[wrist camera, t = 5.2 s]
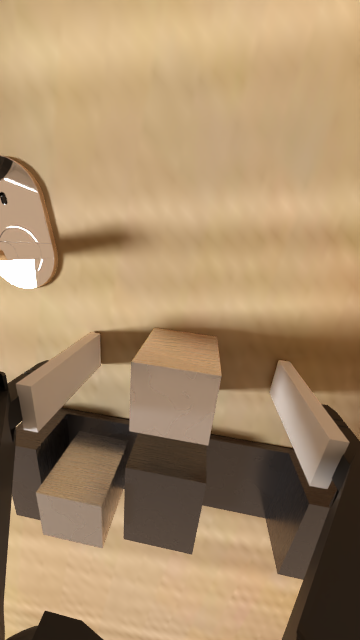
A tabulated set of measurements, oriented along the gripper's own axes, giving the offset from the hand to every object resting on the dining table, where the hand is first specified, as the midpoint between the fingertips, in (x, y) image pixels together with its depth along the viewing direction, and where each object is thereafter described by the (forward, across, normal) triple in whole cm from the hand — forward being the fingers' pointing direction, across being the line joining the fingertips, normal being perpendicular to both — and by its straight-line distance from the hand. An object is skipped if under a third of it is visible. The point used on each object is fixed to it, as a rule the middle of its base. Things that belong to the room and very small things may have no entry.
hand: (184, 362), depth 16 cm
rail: (0, 0, -10) cm, 10 cm away
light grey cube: (0, -6, -10) cm, 12 cm away
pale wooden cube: (0, 0, 0) cm, 0 cm away
